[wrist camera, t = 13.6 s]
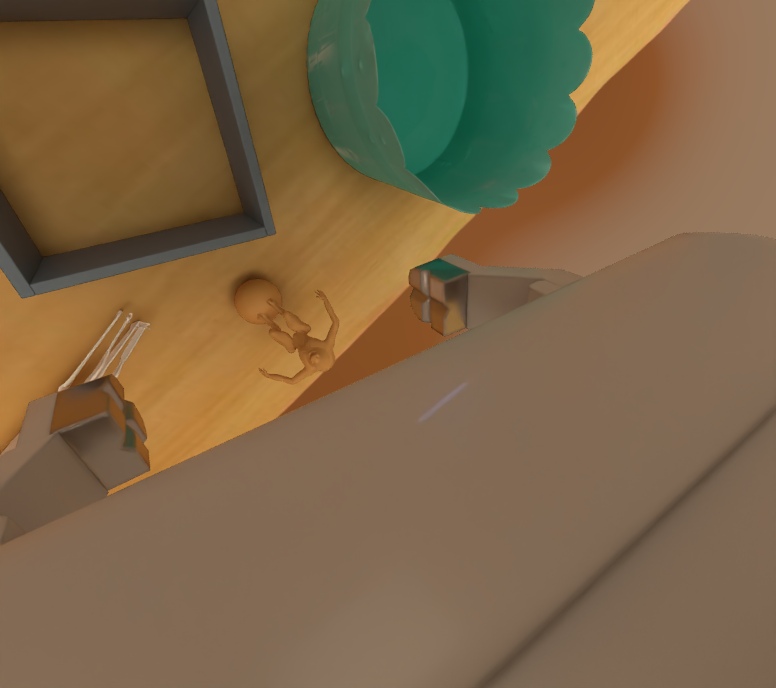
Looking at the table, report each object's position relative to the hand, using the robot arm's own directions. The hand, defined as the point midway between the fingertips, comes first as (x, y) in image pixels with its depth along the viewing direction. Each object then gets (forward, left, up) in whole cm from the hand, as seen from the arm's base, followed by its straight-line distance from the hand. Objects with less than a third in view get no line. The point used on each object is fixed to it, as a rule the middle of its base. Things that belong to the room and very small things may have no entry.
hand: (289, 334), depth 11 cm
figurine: (-4, +10, -26) cm, 28 cm away
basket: (-21, -6, -26) cm, 33 cm away
